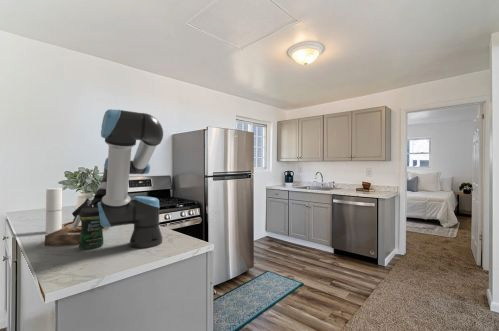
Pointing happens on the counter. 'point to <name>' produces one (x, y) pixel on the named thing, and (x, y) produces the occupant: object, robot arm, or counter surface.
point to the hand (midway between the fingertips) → (89, 228)
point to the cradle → (62, 238)
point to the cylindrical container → (53, 210)
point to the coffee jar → (90, 229)
